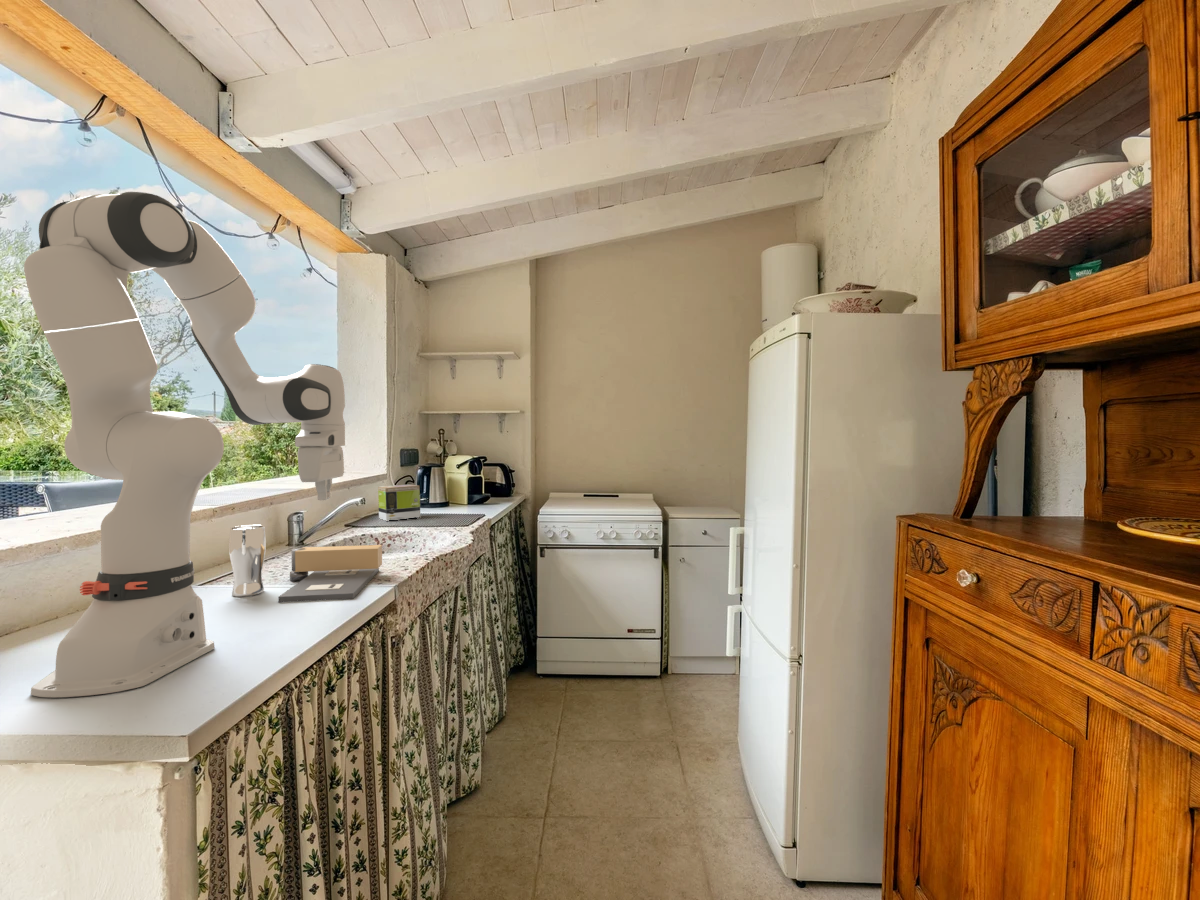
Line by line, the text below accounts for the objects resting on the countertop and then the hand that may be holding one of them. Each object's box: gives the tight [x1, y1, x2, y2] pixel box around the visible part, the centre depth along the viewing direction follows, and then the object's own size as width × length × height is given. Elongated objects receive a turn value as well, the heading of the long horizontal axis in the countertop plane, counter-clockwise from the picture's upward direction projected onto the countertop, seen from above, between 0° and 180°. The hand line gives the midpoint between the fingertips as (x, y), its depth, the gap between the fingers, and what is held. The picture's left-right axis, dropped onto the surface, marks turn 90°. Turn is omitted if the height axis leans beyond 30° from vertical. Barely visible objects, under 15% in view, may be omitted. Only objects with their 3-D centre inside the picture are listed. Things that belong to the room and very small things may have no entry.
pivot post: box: [289, 570, 309, 583], centre depth 137 cm, size 4×4×2 cm
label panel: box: [277, 567, 380, 603], centre depth 132 cm, size 26×15×2 cm, turn 10°
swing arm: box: [290, 544, 383, 572], centre depth 138 cm, size 5×21×5 cm, turn 100°
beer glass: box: [228, 524, 267, 598], centre depth 124 cm, size 7×7×15 cm
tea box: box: [377, 484, 421, 522], centre depth 241 cm, size 15×10×15 cm
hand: (323, 499), depth 124 cm, fingers closed
